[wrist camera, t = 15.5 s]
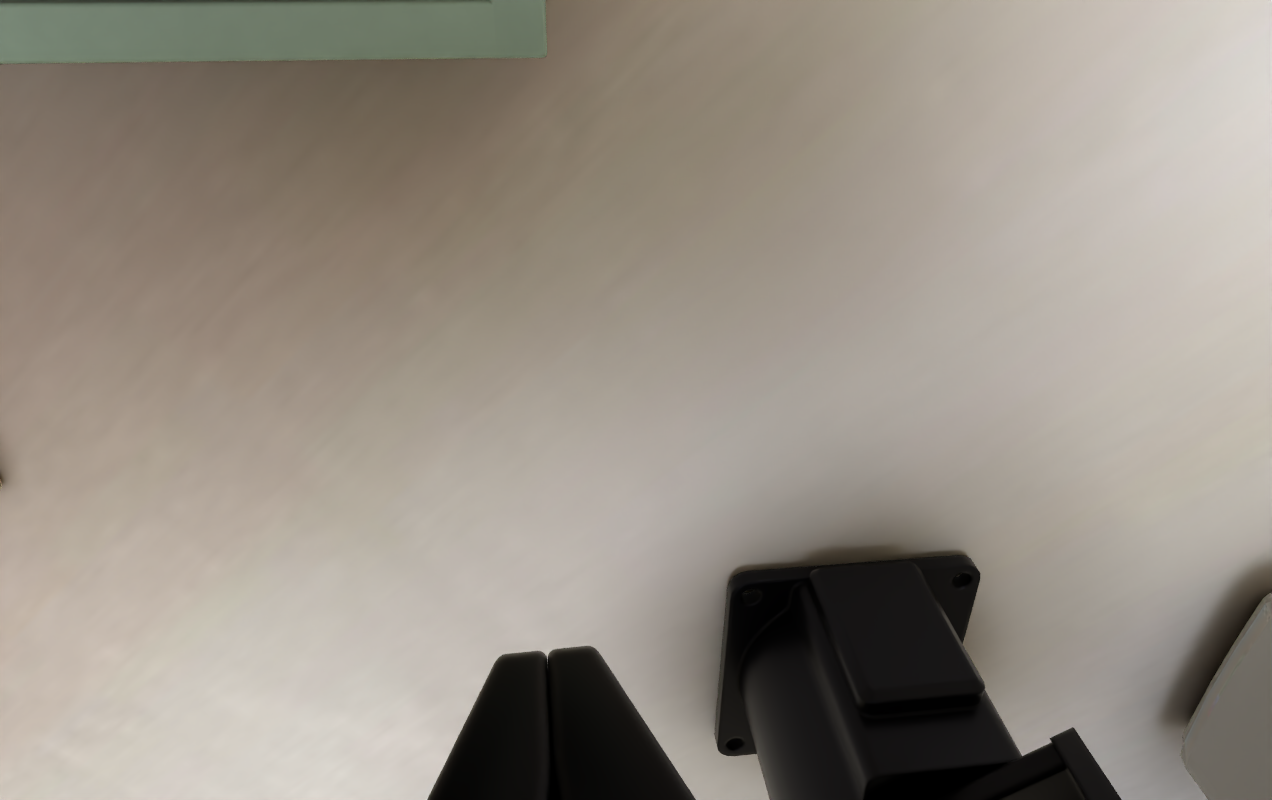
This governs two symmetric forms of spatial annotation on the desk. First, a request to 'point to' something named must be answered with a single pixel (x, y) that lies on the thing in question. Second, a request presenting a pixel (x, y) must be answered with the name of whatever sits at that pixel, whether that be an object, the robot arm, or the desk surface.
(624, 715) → the robot arm
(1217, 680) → the radio
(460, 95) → the desk surface
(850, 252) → the desk surface
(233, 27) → the charging dock
